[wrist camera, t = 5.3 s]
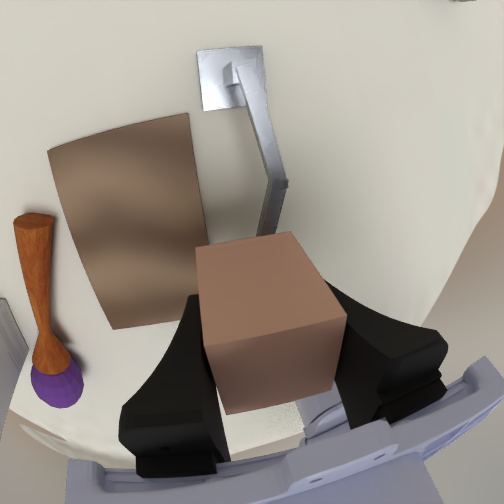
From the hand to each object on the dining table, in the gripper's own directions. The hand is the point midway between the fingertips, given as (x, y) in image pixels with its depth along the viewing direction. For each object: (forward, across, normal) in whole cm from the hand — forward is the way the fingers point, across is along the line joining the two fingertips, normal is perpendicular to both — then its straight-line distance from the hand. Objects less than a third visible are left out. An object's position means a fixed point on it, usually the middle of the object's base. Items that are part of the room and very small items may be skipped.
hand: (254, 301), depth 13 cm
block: (+2, 0, 0) cm, 2 cm away
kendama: (+10, +18, +6) cm, 21 cm away
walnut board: (+9, +7, 0) cm, 11 cm away
